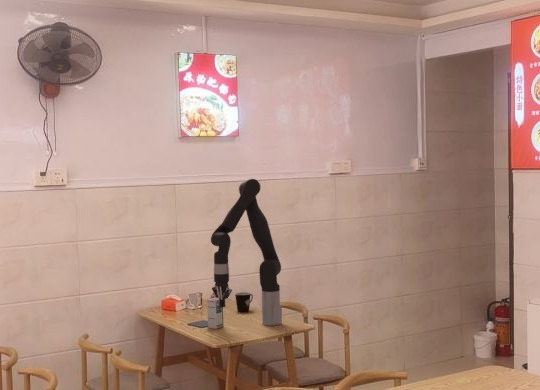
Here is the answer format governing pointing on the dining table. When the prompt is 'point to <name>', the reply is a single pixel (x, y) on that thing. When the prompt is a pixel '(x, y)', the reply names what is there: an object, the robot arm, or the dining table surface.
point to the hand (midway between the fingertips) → (222, 306)
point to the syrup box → (214, 313)
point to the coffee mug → (243, 301)
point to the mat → (199, 324)
